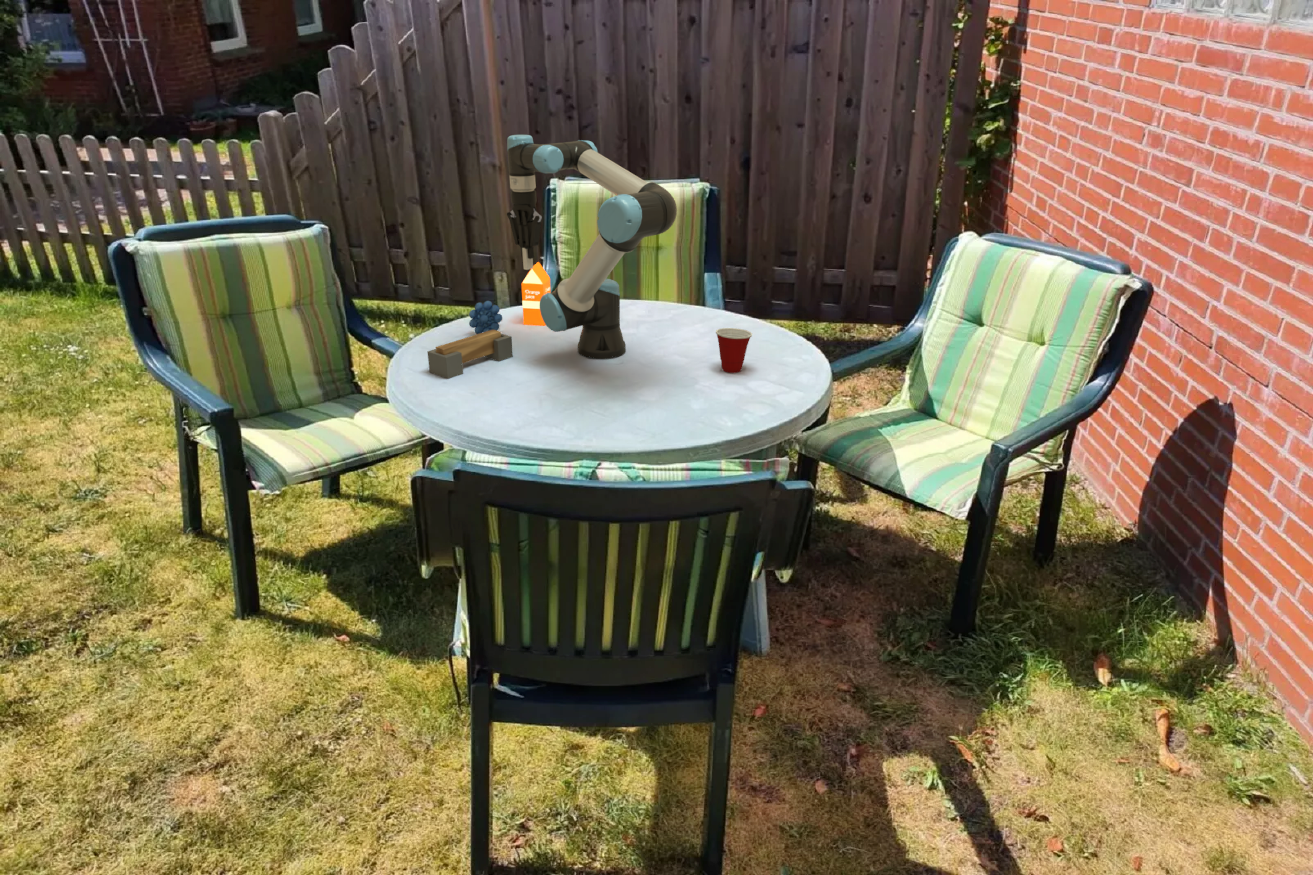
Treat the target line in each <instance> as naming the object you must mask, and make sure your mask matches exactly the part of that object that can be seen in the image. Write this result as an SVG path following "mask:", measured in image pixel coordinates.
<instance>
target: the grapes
mask: <svg viewBox="0 0 1313 875" xmlns="http://www.w3.org/2000/svg"><path fill="white" fill-rule="evenodd" d="M500 309H501V308H500V306H499V305H496V304H493V302H492V301H490V300H486V301H484V302H476V304H475V305H474V309H471V310H470V311H469V315H468V316H469V318H470V320H469V323H468V325H469V327H470V328H471V329H472V328H473V329H474V333H475V335H477V334H480V333H483V332H486V331H490V330H497V331H499V329H500V324H499V323H501V322H502V320H503V315H502V314H501V313H499V312H500Z"/></svg>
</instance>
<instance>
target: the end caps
mask: <svg viewBox="0 0 1313 875" xmlns="http://www.w3.org/2000/svg"><path fill="white" fill-rule="evenodd" d="M512 340H513V339H512V336H511V335H507V334H504V333H501V338H497V339H494V353H492V354H489V355H486V356H485V358H488V359H490V360H493V359H494V360H493V361H496V362H501V360H502V361H503V360H507V359H510V358H513V356H514V355H513V341H512ZM427 359H428V368H429V369H428V371H429V373H431V374H434V375H436V376H439V377H442V378H444V379H448V380H449V379H451V378H454V377H457V376H461V375H464V367H463V363H462V354H461V352H458V351H457V352H454V353H450V354H447V355H442V354H439V353H436V348H433V349H430V350H428V351H427Z"/></svg>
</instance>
